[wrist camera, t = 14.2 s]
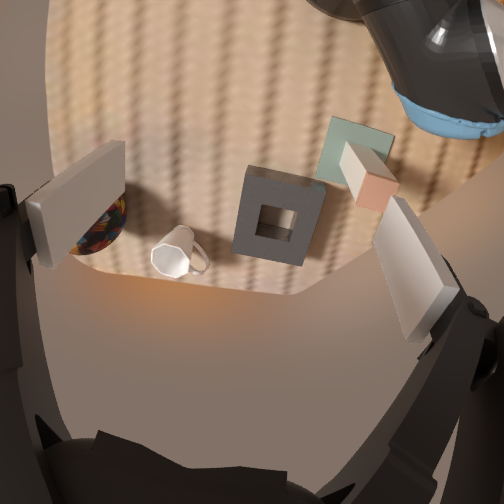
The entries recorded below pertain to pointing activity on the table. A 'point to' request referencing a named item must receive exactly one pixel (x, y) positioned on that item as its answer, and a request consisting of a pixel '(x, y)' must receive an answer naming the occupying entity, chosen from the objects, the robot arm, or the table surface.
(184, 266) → the cup
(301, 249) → the grey square holder
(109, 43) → the table surface
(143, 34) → the table surface
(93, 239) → the egg
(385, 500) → the robot arm
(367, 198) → the plug
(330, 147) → the mat
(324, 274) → the table surface
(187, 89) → the table surface
